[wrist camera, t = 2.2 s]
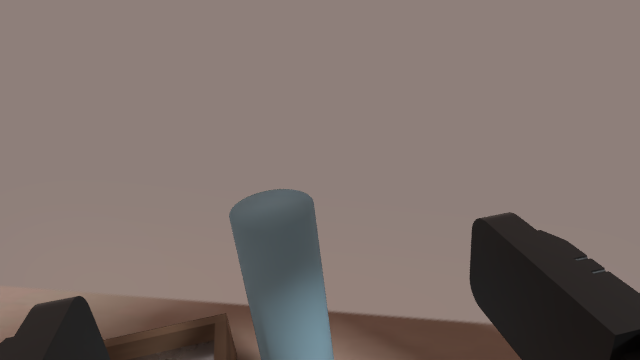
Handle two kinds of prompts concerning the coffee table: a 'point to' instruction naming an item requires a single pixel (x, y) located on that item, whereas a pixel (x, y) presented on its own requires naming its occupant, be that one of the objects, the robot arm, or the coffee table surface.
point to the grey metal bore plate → (184, 353)
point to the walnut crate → (175, 339)
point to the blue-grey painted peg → (283, 274)
